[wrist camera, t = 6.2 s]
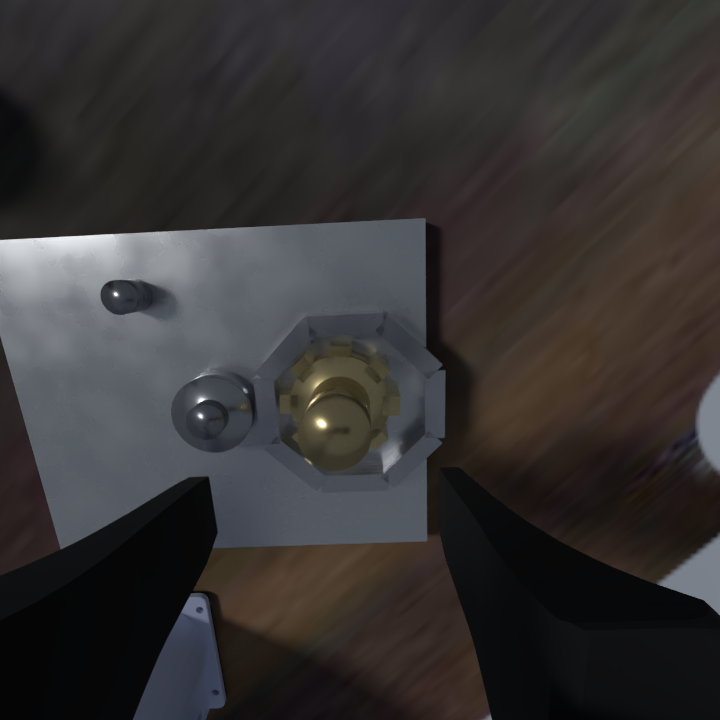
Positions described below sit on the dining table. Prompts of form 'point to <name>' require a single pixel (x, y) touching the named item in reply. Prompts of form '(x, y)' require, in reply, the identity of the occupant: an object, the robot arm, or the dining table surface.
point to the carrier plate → (191, 332)
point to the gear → (339, 405)
